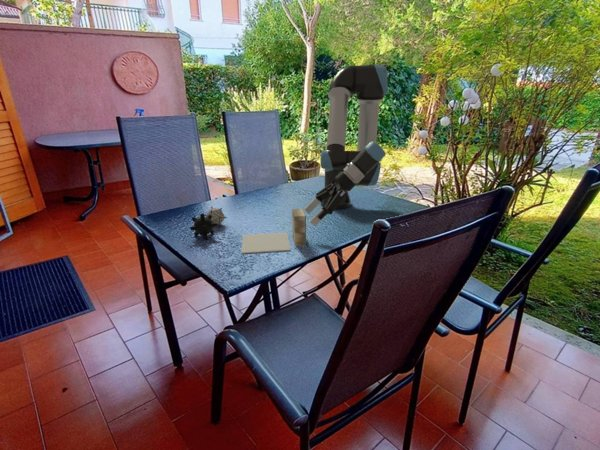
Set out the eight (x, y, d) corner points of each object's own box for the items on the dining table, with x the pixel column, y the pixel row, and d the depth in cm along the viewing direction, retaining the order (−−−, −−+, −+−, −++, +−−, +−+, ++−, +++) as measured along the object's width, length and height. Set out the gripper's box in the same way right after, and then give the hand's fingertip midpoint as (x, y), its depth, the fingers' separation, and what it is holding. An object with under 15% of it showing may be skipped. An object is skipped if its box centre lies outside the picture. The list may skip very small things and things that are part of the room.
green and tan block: (303, 236, 137) (303, 208, 133) (306, 245, 130) (306, 215, 125) (292, 237, 137) (292, 209, 132) (294, 245, 129) (294, 216, 125)
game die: (221, 231, 152) (233, 214, 150) (211, 232, 144) (223, 213, 142) (208, 219, 154) (219, 201, 153) (196, 219, 146) (209, 200, 144)
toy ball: (220, 222, 145) (224, 224, 134) (204, 242, 144) (207, 246, 132) (199, 206, 142) (201, 208, 130) (183, 227, 140) (184, 230, 129)
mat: (286, 233, 140) (286, 232, 140) (290, 250, 126) (290, 249, 125) (243, 236, 138) (242, 234, 138) (241, 253, 124) (241, 252, 123)
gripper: (334, 163, 136) (298, 201, 140) (351, 178, 113) (307, 222, 117) (347, 176, 139) (310, 212, 143) (366, 193, 116) (322, 236, 120)
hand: (309, 217), depth 130 cm, fingers open, 13 cm apart
